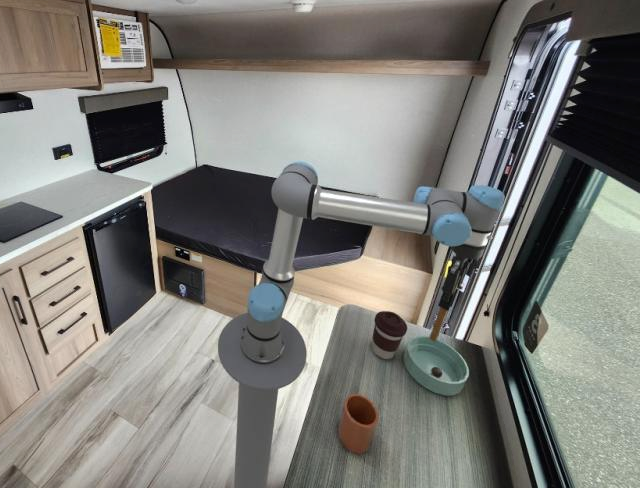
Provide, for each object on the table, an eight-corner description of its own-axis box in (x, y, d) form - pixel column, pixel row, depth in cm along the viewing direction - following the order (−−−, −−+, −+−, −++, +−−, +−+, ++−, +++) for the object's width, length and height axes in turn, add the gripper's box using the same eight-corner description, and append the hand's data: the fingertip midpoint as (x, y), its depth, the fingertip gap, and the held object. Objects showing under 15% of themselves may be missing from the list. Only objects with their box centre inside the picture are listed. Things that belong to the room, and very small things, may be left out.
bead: (428, 374, 101) (431, 368, 99) (432, 369, 102) (434, 363, 101) (438, 381, 98) (441, 375, 97) (442, 376, 100) (444, 369, 99)
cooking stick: (428, 338, 100) (448, 284, 92) (431, 335, 101) (451, 281, 93) (434, 342, 99) (455, 287, 90) (437, 339, 100) (457, 285, 91)
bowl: (393, 365, 104) (398, 353, 101) (416, 340, 114) (421, 327, 111) (450, 408, 91) (456, 395, 89) (470, 375, 101) (476, 362, 99)
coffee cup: (399, 367, 103) (410, 334, 97) (368, 358, 106) (377, 325, 100) (396, 343, 112) (406, 311, 106) (367, 335, 115) (375, 304, 109)
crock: (331, 432, 85) (338, 406, 80) (349, 413, 89) (356, 387, 85) (358, 461, 79) (367, 434, 74) (375, 438, 84) (384, 412, 79)
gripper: (476, 256, 79) (449, 325, 88) (494, 237, 87) (467, 302, 96) (444, 242, 84) (421, 309, 93) (463, 226, 93) (441, 289, 102)
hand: (445, 305), depth 95 cm, fingers closed on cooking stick, 2 cm apart
